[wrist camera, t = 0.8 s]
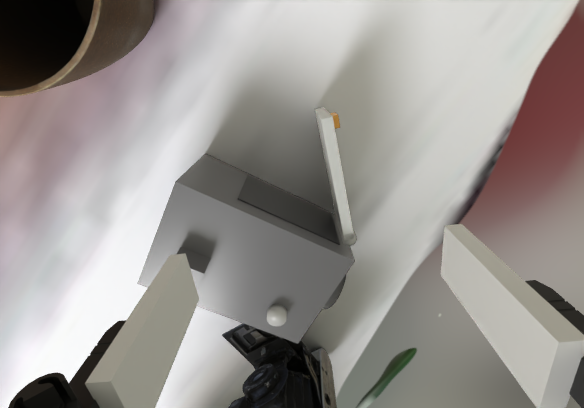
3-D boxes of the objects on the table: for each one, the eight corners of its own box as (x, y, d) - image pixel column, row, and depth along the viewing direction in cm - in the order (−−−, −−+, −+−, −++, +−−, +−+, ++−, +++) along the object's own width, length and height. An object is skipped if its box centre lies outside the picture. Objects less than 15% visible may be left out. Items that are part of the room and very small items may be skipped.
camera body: (306, 290, 43) (312, 367, 32) (172, 235, 40) (125, 299, 29) (351, 220, 39) (375, 281, 28) (205, 152, 36) (165, 189, 24)
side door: (333, 213, 38) (343, 246, 31) (312, 109, 33) (318, 120, 26) (349, 210, 38) (363, 242, 31) (331, 105, 33) (342, 114, 26)
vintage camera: (278, 287, 44) (260, 438, 25) (333, 357, 48) (352, 527, 30) (225, 315, 46) (172, 472, 28) (282, 379, 51) (270, 551, 32)
